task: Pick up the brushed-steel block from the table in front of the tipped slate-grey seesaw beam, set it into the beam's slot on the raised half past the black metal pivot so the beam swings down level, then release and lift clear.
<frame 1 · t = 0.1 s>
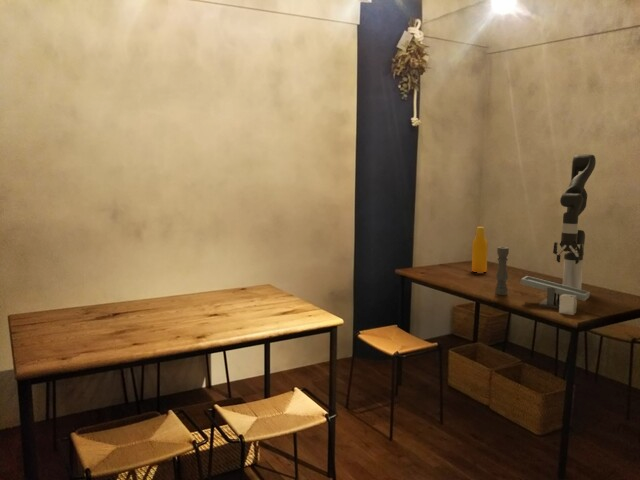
hand: (567, 263, 275), 17 cm above the table, tool pointing down, fingers open, 8 cm apart
beam: (554, 287, 258), point 9 cm above the table, hinge at -8.0°
candle holder: (501, 294, 282), on the table
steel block: (567, 312, 246), on the table
beer bottle: (479, 272, 338), on the table
pivot stand: (553, 304, 259), on the table
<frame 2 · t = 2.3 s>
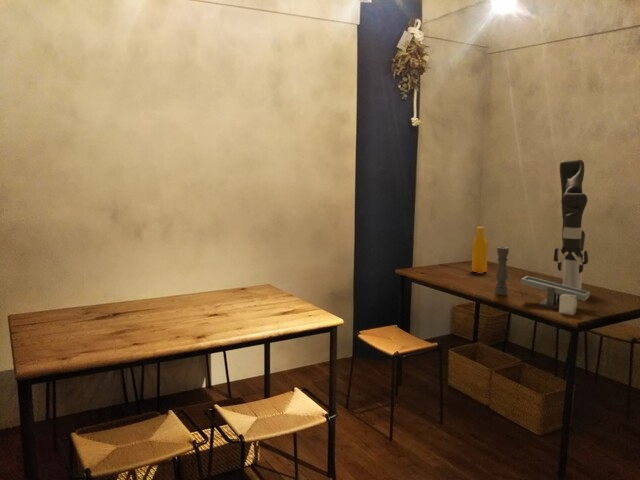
hand: (569, 271, 243), 19 cm above the table, tool pointing down, fingers open, 8 cm apart
nothing on the table moved.
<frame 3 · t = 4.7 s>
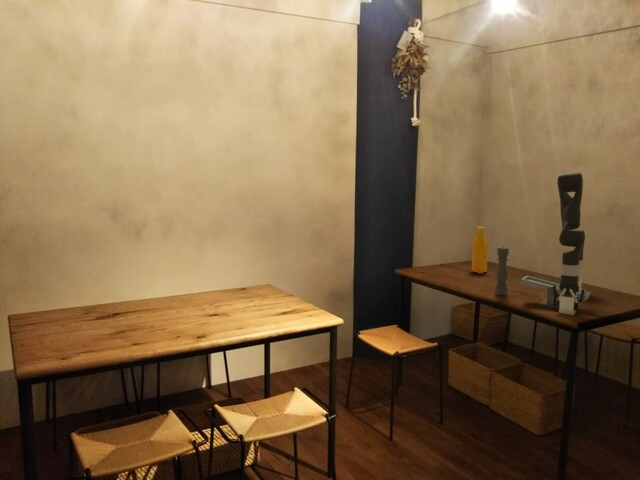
hand: (567, 308, 246), 2 cm above the table, tool pointing down, fingers closed on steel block, 6 cm apart
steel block: (567, 312, 246), on the table, touching gripper
everything else where it was.
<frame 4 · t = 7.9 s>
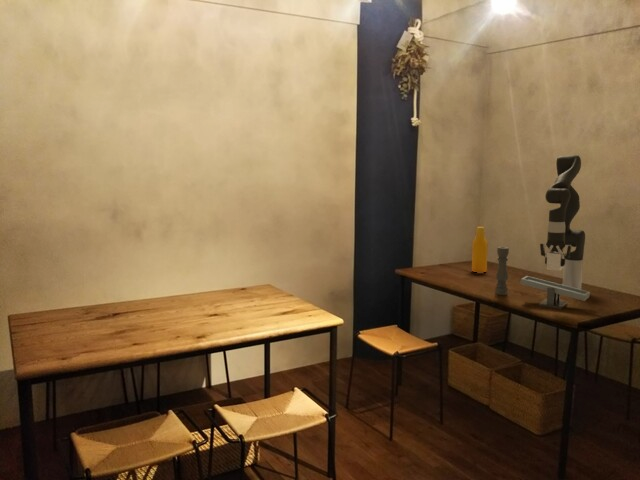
hand: (554, 265, 252), 21 cm above the table, tool pointing down, fingers closed on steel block, 6 cm apart
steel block: (554, 268, 253), point 19 cm above the table, touching gripper
everything else where it was.
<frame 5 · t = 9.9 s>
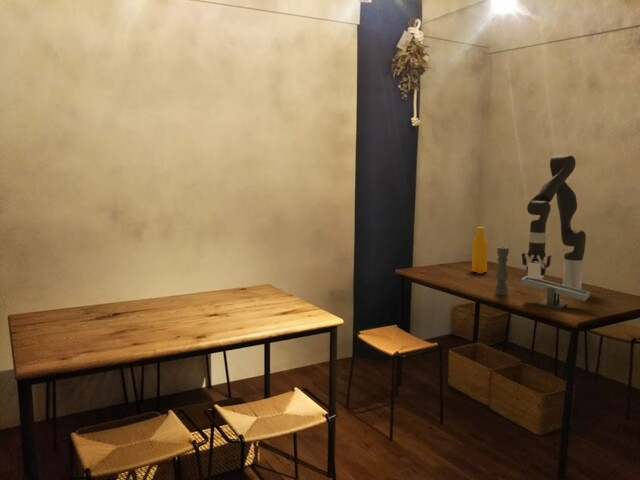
hand: (535, 274, 263), 14 cm above the table, tool pointing down, fingers closed on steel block, 6 cm apart
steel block: (535, 277, 263), point 12 cm above the table, touching gripper
everything else where it was.
when the fingers open (13 cm above the table, at t = 11.1 s): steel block drops 2 cm, resting on beam.
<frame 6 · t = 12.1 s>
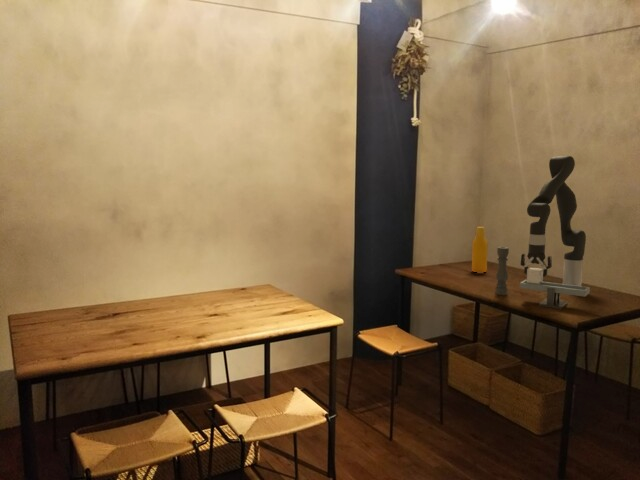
hand: (535, 275, 263), 14 cm above the table, tool pointing down, fingers open, 8 cm apart
beam: (553, 287, 258), point 9 cm above the table, hinge at 0.2°, touching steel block
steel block: (534, 284, 264), point 9 cm above the table, touching beam
everything else where it was.
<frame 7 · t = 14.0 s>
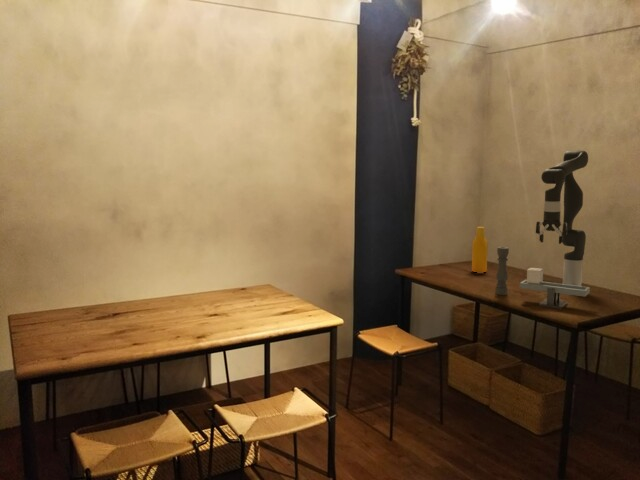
hand: (550, 242, 261), 30 cm above the table, tool pointing down, fingers open, 8 cm apart
nothing on the table moved.
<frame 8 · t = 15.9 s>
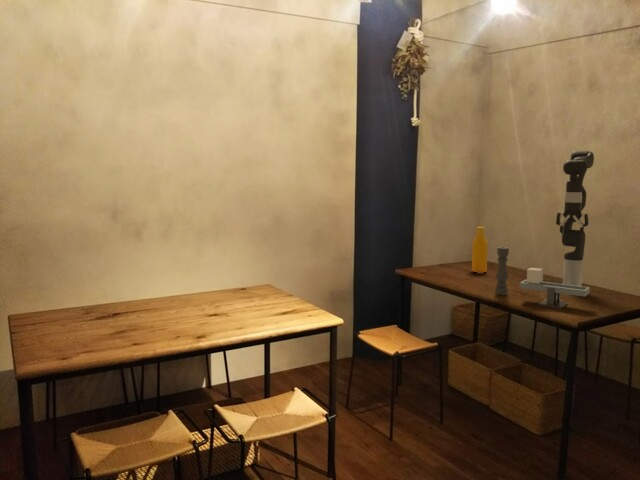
hand: (571, 234, 261), 34 cm above the table, tool pointing down, fingers open, 8 cm apart
nothing on the table moved.
at the end: beam at +0° (first picture: -8°); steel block inside the target area on the beam (0.9 cm from its centre), point 1.7 cm above the beam's base; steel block tilted 0° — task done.
